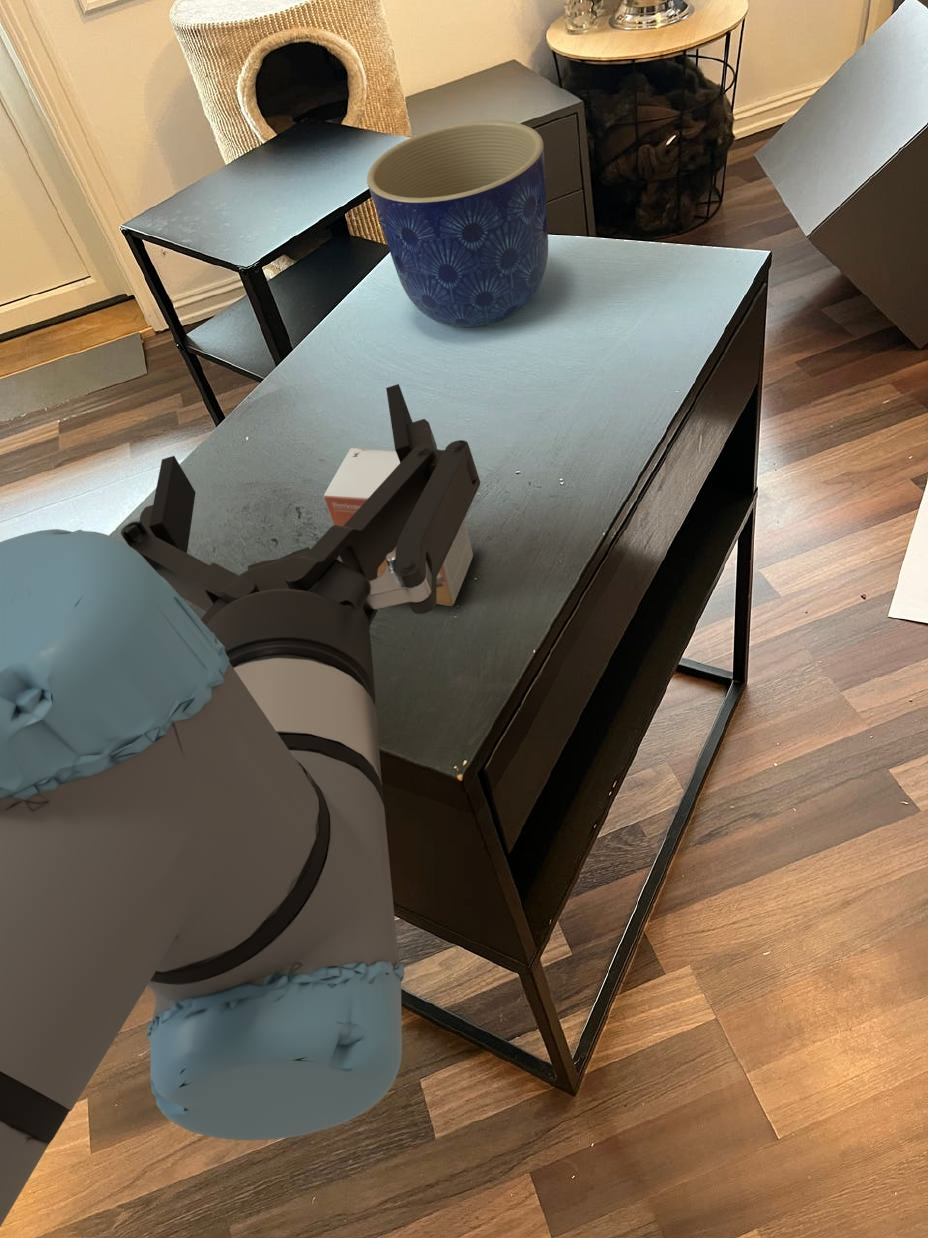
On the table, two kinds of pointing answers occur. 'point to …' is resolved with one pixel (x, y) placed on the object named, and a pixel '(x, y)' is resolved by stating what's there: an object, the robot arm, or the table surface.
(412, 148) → the planter
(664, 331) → the table surface
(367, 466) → the small box
